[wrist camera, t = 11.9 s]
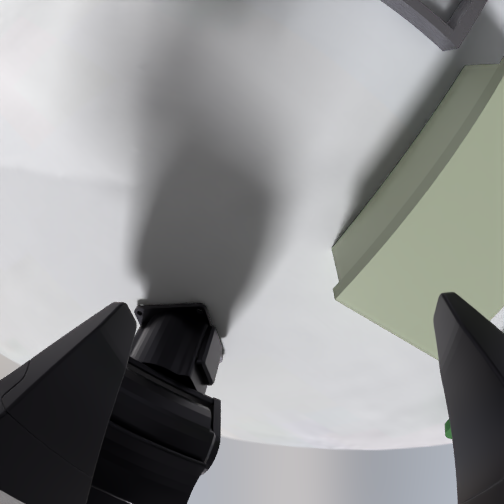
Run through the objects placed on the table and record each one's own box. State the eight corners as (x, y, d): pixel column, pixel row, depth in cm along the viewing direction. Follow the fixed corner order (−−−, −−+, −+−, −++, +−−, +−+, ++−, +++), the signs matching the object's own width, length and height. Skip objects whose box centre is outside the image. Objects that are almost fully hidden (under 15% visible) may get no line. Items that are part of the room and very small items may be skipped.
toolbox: (422, 314, 22) (444, 363, 17) (325, 249, 21) (334, 299, 16) (542, 161, 15) (588, 184, 10) (464, 58, 13) (515, 54, 8)
